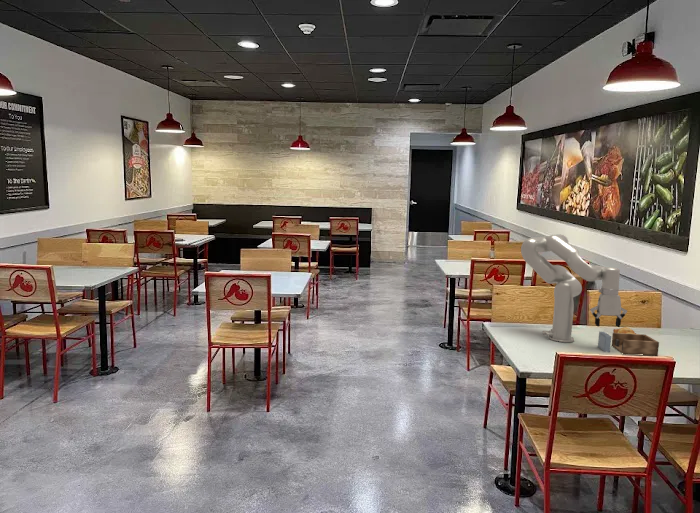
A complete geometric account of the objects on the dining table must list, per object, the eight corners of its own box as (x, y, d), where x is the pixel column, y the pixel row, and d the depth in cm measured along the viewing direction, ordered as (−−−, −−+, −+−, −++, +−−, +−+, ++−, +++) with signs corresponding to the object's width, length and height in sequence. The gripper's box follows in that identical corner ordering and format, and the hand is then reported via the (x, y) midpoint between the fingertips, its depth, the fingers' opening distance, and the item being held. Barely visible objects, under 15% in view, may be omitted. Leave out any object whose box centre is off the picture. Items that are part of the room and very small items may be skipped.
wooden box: (623, 354, 252) (624, 340, 252) (611, 345, 266) (612, 332, 265) (657, 356, 251) (659, 342, 250) (643, 347, 265) (645, 334, 264)
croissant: (642, 351, 270) (651, 338, 270) (628, 343, 269) (636, 330, 268) (617, 339, 291) (625, 327, 291) (603, 331, 289) (611, 319, 289)
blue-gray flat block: (604, 351, 256) (605, 336, 255) (597, 346, 264) (598, 331, 264) (609, 352, 255) (611, 336, 254) (602, 346, 264) (604, 331, 263)
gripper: (594, 293, 253) (592, 327, 255) (631, 294, 252) (629, 328, 253) (588, 290, 261) (586, 323, 262) (624, 291, 259) (622, 325, 261)
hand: (607, 326), depth 258 cm, fingers open, 9 cm apart
